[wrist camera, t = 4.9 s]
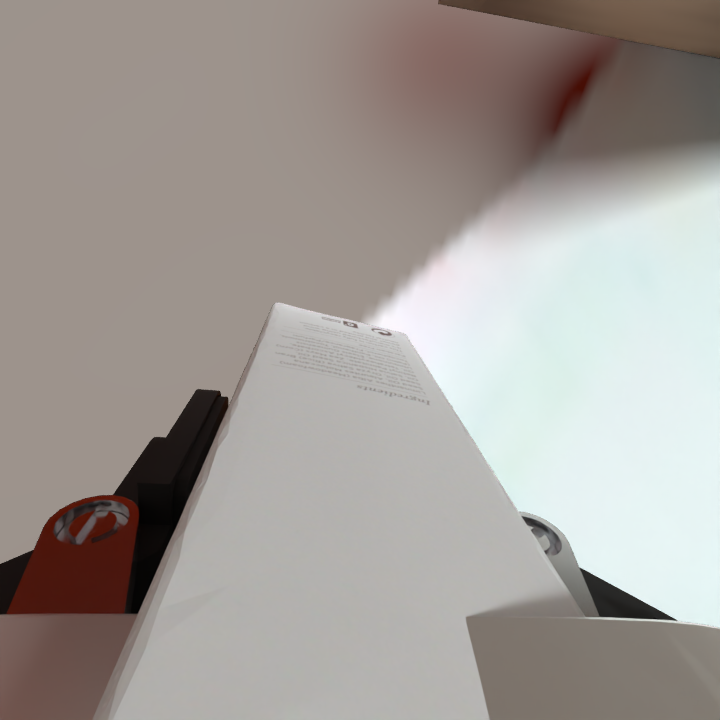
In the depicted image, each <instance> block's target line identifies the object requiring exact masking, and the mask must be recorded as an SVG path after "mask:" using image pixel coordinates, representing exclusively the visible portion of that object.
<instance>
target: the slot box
mask: <svg viewBox="0 0 720 720" xmlns="http://www.w3.org/2000/svg"><path fill="white" fill-rule="evenodd" d="M438 4H442V5H447V6H452V7H457V8H463V9H468V10H473V11H478V12H483V13H489V14H493V15H499V16H504V17H509V18H514V19H519V20H525V21H530V22H535V23H541V24H545V25H551V26H556V27H561V28H566V29H571V30H576V31H581V32H587V33H592V34H597V35H602V36H607V37H613V38H618V39H623V40H628V41H633V42H638V43H643V44H649V45H654V46H659V47H664V48H669V49H674V50H680V51H685V52H690V53H695V54H700V55H705V56H711V57H716V58H720V0H439V2H438Z"/></svg>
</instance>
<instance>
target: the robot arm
mask: <svg viewBox="0 0 720 720" xmlns="http://www.w3.org/2000/svg"><path fill="white" fill-rule="evenodd" d="M227 409H228V397H221V393H220V391H215V390H214V391H213V390H201V389H198V390H196V391H195V393H194V395H193V396H192V398H191V399H190V401H189V402H188V404H187V405H186V407H185V409H184V410H183V412H182V413H181V415H180V416H179V418H178V420H177V421H176V423H175V424H174V426H173V427H172V429H171V430H170V432H169V434H168V435H167V437H166V438H164V437H154V438H153V439H152V440H151V441H150V442H149V444H148V445H147V447H146V448H145V450H144V451H143V452H142V454H141V455H140V457H139V458H138V460H137V461H136V463H135V464H134V465H133V467H132V468H131V470H130V471H129V473H128V474H127V476H126V477H125V478H124V480H123V481H122V483H121V484H120V486H119V487H118V488H117V490H116V491H115V493H114V494H113V495H101V496H95V497H90V498H85V499H82V500H79V501H76V502H73V503H71V504H69V505H68V506H66V507H64V508H62V509H60V510H59V511H58V512H56V513H55V514H54V515H53V516H52V517H50V519H49V520H48V521H47V523H46V524H45V526H44V527H43V530H42V532H41V534H40V537H39V539H38V541H37V544H36V546H35V548H34V550H32V551H30V552H28V553H25V554H23V555H20V556H18V557H16V558H13V559H11V560H9V561H6V562H4V563H2V564H0V720H92V719H93V717H94V715H95V712H96V710H97V708H98V705H99V703H100V701H101V698H102V696H103V694H104V691H105V689H106V687H107V684H108V682H109V680H110V677H111V675H112V673H113V670H114V668H115V666H116V663H117V661H118V659H119V657H120V654H121V652H122V650H123V647H124V645H125V643H126V640H127V638H128V636H129V633H130V631H131V629H132V627H133V624H134V622H135V620H136V617H137V615H138V613H139V610H140V608H141V606H142V604H143V601H144V599H145V597H146V594H147V592H148V590H149V587H150V585H151V583H152V581H153V578H154V576H155V574H156V571H157V569H158V567H159V565H160V562H161V560H162V558H163V555H164V553H165V551H166V548H167V546H168V544H169V542H170V540H171V537H172V535H173V533H174V531H175V529H176V527H177V525H178V522H179V520H180V517H181V515H182V513H183V510H184V508H185V505H186V503H187V501H188V498H189V496H190V494H191V492H192V490H193V487H194V485H195V483H196V480H197V478H198V476H199V473H200V471H201V469H202V466H203V464H204V462H205V459H206V457H207V455H208V453H209V450H210V448H211V446H212V443H213V441H214V439H215V436H216V434H217V432H218V430H219V427H220V425H221V423H222V420H223V418H224V416H225V413H226V411H227ZM518 512H519V511H518ZM519 513H520V515H521V516H522V518H523V520H524V521H525V523H526V524H527V526H528V527H529V529H530V530H531V532H532V533H533V535H534V536H535V538H536V539H537V541H538V543H539V544H540V546H541V548H542V549H543V551H544V552H545V554H546V556H547V557H548V559H549V561H550V562H551V564H552V565H553V567H554V569H555V570H556V572H557V573H558V575H559V576H560V578H561V580H562V581H563V583H564V584H565V586H566V587H567V589H568V590H569V592H570V593H571V595H572V597H573V598H574V600H575V601H576V603H577V605H578V606H579V608H580V609H581V611H582V612H583V614H584V616H585V617H466V624H467V628H468V632H469V636H470V640H471V644H472V648H473V652H474V656H475V660H476V664H477V668H478V672H479V676H480V680H481V684H482V689H483V693H484V697H485V702H486V706H487V711H488V715H489V719H490V720H720V628H718V627H714V626H709V625H703V624H696V623H688V622H680V621H677V620H676V619H674V618H672V617H670V616H668V615H667V614H665V613H663V612H661V611H659V610H657V609H656V608H654V607H652V606H650V605H648V604H646V603H644V602H643V601H641V600H639V599H637V598H635V597H633V596H631V595H630V594H628V593H626V592H624V591H622V590H620V589H618V588H617V587H615V586H613V585H611V584H609V583H607V582H606V581H604V580H602V579H600V578H598V577H596V576H594V575H593V574H591V573H589V572H587V571H585V570H583V569H581V568H580V567H579V566H578V563H577V561H576V558H575V556H574V553H573V551H572V549H571V546H570V544H569V542H568V540H567V539H566V537H565V535H564V534H563V533H562V532H561V531H560V530H559V529H558V528H557V527H555V526H554V525H553V524H551V523H550V522H548V521H547V520H545V519H542V518H540V517H538V516H536V515H533V514H529V513H526V512H519Z"/></svg>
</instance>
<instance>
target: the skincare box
mask: <svg viewBox="0 0 720 720" xmlns="http://www.w3.org/2000/svg"><path fill="white" fill-rule="evenodd" d="M466 617H585V616H584V614H583V612H582V611H581V609H580V608H579V606H578V605H577V603H576V601H575V600H574V598H573V597H572V595H571V593H570V592H569V590H568V589H567V587H566V586H565V584H564V583H563V581H562V580H561V578H560V576H559V575H558V573H557V572H556V570H555V569H554V567H553V565H552V564H551V562H550V561H549V559H548V557H547V556H546V554H545V552H544V551H543V549H542V548H541V546H540V544H539V543H538V541H537V539H536V538H535V536H534V535H533V533H532V532H531V530H530V529H529V527H528V526H527V524H526V523H525V521H524V520H523V518H522V516H521V515H520V513H519V512H518V510H517V508H516V507H515V505H514V504H513V502H512V501H511V499H510V498H509V496H508V495H507V493H506V491H505V490H504V488H503V486H502V485H501V483H500V482H499V480H498V478H497V477H496V475H495V474H494V472H493V470H492V469H491V467H490V466H489V464H488V463H487V461H486V460H485V458H484V457H483V455H482V453H481V452H480V450H479V448H478V447H477V445H476V444H475V442H474V440H473V439H472V437H471V436H470V435H469V433H468V431H467V429H466V428H465V426H464V425H463V423H462V422H461V420H460V419H459V417H458V416H457V414H456V412H455V411H454V409H453V407H452V406H451V404H450V403H449V402H448V400H447V398H446V397H445V395H444V394H443V392H442V390H441V389H440V387H439V386H438V384H437V383H436V381H435V380H434V378H433V377H432V375H431V373H430V371H429V370H428V368H427V366H426V365H425V364H424V362H423V360H422V359H421V357H420V356H419V354H418V353H417V351H416V349H415V348H414V346H413V345H412V343H411V342H410V340H409V339H408V337H407V335H406V334H404V333H400V332H396V331H392V330H388V329H384V328H380V327H376V326H372V325H368V324H364V323H360V322H356V321H352V320H348V319H343V318H339V317H334V316H330V315H326V314H322V313H318V312H314V311H309V310H306V309H301V308H297V307H294V306H290V305H286V304H283V303H274V304H273V306H272V308H271V310H270V312H269V315H268V317H267V319H266V322H265V324H264V326H263V328H262V331H261V333H260V336H259V338H258V341H257V343H256V345H255V347H254V349H253V352H252V354H251V356H250V359H249V361H248V363H247V365H246V367H245V369H244V371H243V374H242V376H241V378H240V381H239V383H238V386H237V388H236V390H235V393H234V395H233V397H232V400H231V402H230V404H229V406H228V409H227V411H226V413H225V416H224V418H223V420H222V423H221V425H220V427H219V430H218V432H217V434H216V436H215V439H214V441H213V443H212V446H211V448H210V450H209V453H208V455H207V457H206V459H205V462H204V464H203V466H202V469H201V471H200V473H199V476H198V478H197V480H196V483H195V485H194V487H193V490H192V492H191V494H190V496H189V498H188V501H187V503H186V505H185V508H184V510H183V513H182V515H181V517H180V520H179V522H178V525H177V527H176V529H175V531H174V533H173V535H172V537H171V540H170V542H169V544H168V546H167V548H166V551H165V553H164V555H163V558H162V560H161V562H160V565H159V567H158V569H157V571H156V574H155V576H154V578H153V581H152V583H151V585H150V587H149V590H148V592H147V594H146V597H145V599H144V601H143V604H142V606H141V608H140V610H139V613H138V615H137V617H136V620H135V622H134V624H133V627H132V629H131V631H130V633H129V636H128V638H127V640H126V643H125V645H124V647H123V650H122V652H121V654H120V657H119V659H118V661H117V663H116V666H115V668H114V670H113V673H112V675H111V677H110V680H109V682H108V684H107V687H106V689H105V691H104V694H103V696H102V698H101V701H100V703H99V705H98V708H97V710H96V712H95V715H94V717H93V719H92V720H490V719H489V715H488V711H487V706H486V702H485V697H484V693H483V689H482V684H481V680H480V676H479V672H478V668H477V664H476V660H475V656H474V652H473V648H472V644H471V640H470V636H469V632H468V628H467V624H466Z"/></svg>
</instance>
